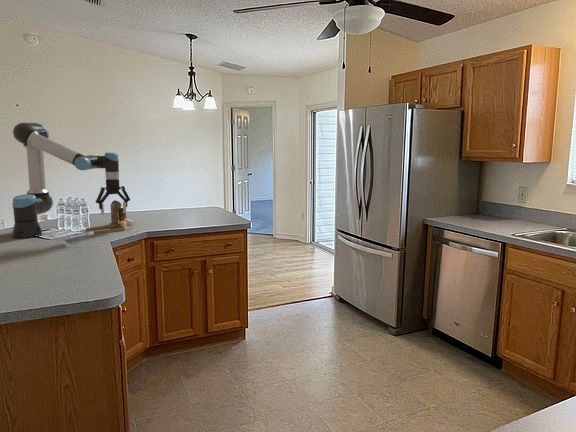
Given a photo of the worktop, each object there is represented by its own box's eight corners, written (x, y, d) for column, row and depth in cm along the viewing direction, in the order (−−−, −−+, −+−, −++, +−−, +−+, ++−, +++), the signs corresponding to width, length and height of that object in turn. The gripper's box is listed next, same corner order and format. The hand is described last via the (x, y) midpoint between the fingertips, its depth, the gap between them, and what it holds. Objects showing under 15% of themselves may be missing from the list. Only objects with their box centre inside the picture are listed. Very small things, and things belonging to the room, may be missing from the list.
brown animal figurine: (109, 228, 282) (107, 200, 279) (116, 223, 295) (115, 197, 292) (123, 228, 282) (121, 200, 279) (130, 224, 295) (128, 197, 292)
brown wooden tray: (95, 238, 254) (95, 227, 253) (84, 233, 266) (84, 222, 265) (137, 232, 271) (136, 221, 270) (125, 227, 283) (124, 217, 282)
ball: (127, 220, 272) (128, 228, 273) (123, 219, 275) (125, 227, 277) (119, 222, 269) (120, 230, 270) (116, 221, 272) (117, 229, 273)
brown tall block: (114, 230, 266) (113, 205, 263) (109, 228, 271) (108, 203, 268) (120, 229, 269) (119, 204, 266) (116, 228, 274) (114, 203, 271)
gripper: (93, 180, 253) (95, 216, 257) (135, 178, 270) (136, 212, 274) (88, 179, 258) (90, 214, 262) (129, 177, 275) (130, 210, 279)
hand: (113, 213), depth 268 cm, fingers open, 13 cm apart
